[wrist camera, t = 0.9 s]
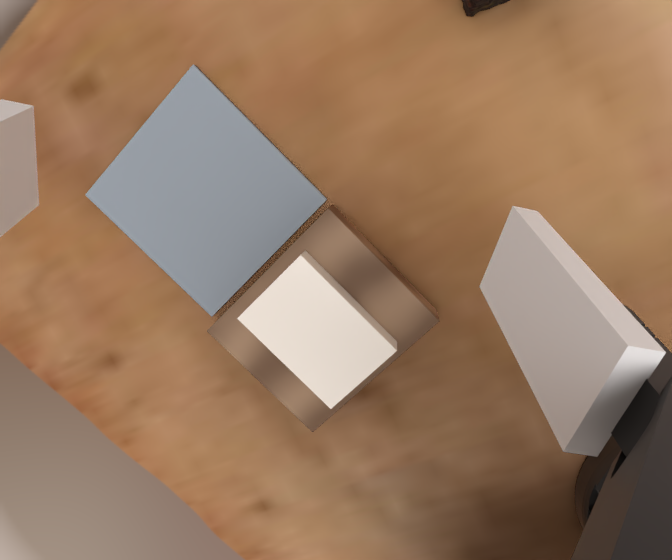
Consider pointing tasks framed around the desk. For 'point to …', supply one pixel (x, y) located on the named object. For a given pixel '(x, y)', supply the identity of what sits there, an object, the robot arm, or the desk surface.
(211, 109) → the mat
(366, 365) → the tile
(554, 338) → the robot arm
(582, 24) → the desk surface
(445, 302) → the desk surface
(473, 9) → the candle
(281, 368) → the deck
